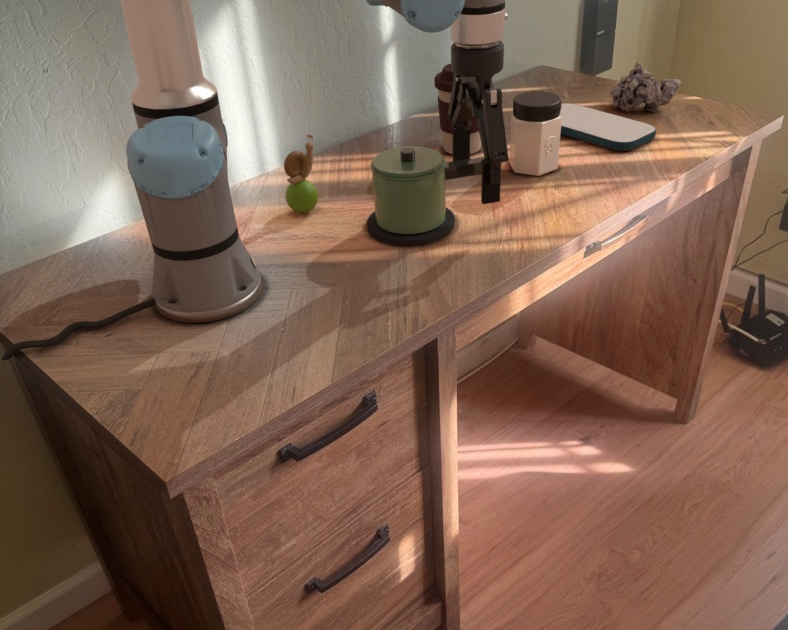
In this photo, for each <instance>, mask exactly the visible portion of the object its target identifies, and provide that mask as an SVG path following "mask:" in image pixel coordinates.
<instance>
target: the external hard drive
mask: <svg viewBox="0 0 788 630" xmlns="http://www.w3.org/2000/svg"><path fill="white" fill-rule="evenodd" d="M560 115H561V117H562V120H561V133H560V135H563V136H566V137H570V138H573V139H576V140H580V141H583V142H586V143H588V144H589V143H590V144H592V145H596V146H599V147H602V148H606V149H608V150H614V151H621V152H622V151H623V152H625V151H631V150H635V149H637V148H639V147H641V146H643V145H646V144H647V143H650V142H652V141H653V140H654V139H655V138H656V135H657V128H656V127H655V126H653V125H652V124H649V123H646V122H643V121H640V120H635V119H632V118H628V117H626V116H625V117H624V116H621V115H617V114H613V113H610V112H606V111H602V110H599V109H595V108H591V107H588V106H583V105H581V104H580V105H579V104H576V103H569V102H563V103H562V102H561V111H560Z"/></svg>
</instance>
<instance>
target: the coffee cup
mask: <svg viewBox="0 0 788 630" xmlns="http://www.w3.org/2000/svg"><path fill="white" fill-rule="evenodd" d="M433 80H434V81H433V82H434V87H435V89H437V91H438V95H437V105H438V117H439V127H440V130H441V138H442V139H441V140H442V149H443V151H444V152H446V153H448V154H449V155H453V130H454V128H452V126H451V121H449V120H448V118H447V116H448V109H449V103H450V98H451V92H452V86H453V81H454V73H453V71H452V70H451V62H450V63H447V64H445V65H444V66H443V67H442V69H441V71H440V72H438V73H437V74H436V75H435V76H434V79H433ZM454 112H455V111H454ZM470 120H471V125H472V126H466V127H465V128H469V129H470V155H473V154H476V153H477V152H479V151H480V150H481V149H482V144H481V139H480V134H479V130H478V125H477V121H476V119H474V118H473V117H472V116H471V118H470Z"/></svg>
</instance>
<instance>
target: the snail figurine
mask: <svg viewBox="0 0 788 630" xmlns="http://www.w3.org/2000/svg"><path fill="white" fill-rule="evenodd" d="M306 136H307V138H308V141H307V142H306V143H305V145H304V147H305V153H304V152H303V151H301V150H293V151H291V152H289V153H288V154H287V156H286V157H285V159H284V163H283V170H284V172H285V173H284V174H286V176H288V177H289V178H287V179H286V182H288V183H289V184H288V185H287V187H286V190H285V196H284V197H285V202H286V204H287V205H288V207H289V208H290V209H291V210H292V211H294V212H296V213H299V214H306V213H309V212H311V211H312V210H314V208H315V207H316V206H317V205H318V201H319V192H318V188H317V187H316V186H315V184H314V183H313V182H312V181H310V180H308V179H307V177H309V175H310V174H311V172H312V168H313V165H314V147H315V146H314V143H313V141H311V139H313V138H314V135H313V134H310V133H308V134H307V135H306Z"/></svg>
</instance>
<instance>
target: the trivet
mask: <svg viewBox="0 0 788 630" xmlns="http://www.w3.org/2000/svg"><path fill="white" fill-rule="evenodd" d="M455 219H456V217H455V215H454V212H453V211H452V210H451V209H450V208H448V207H446V218H445V221H444V222H443V223H442V224H441V225H440V226H439V227H437V228H435V229H433V230H430V231H427V232H423V233H417V234H398V233H392V232H389V231H386V230H384V229H382V228H380V227H379V226H378V225H377V223H376V218H375V210H374V211H373V212H372V213H371V214H370V215H369V216H368V218H367V221H366V225H367V226H366V227H367V232H368V234H369V235H370V237H372V239H374V240H376V241H378V242H381V243H383V244H387V245H389V246H390V245H391V246H397V247H398V246H399V247H416V246H417V247H418V246H424V245H429V244H432V243H435V242H438V241H440V240H443V239H444V238H447V236H449V235H450V234H451V233H452V232H453V231H454V229H455V225H456V224H455V223H456V220H455Z"/></svg>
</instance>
